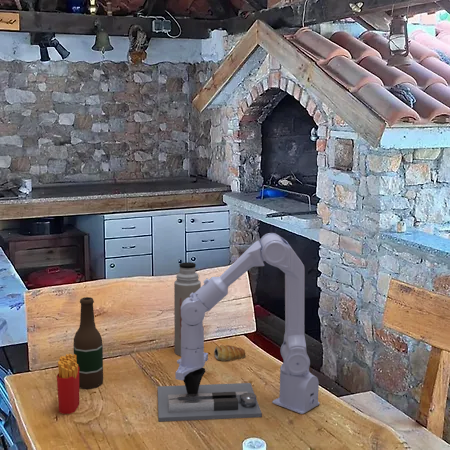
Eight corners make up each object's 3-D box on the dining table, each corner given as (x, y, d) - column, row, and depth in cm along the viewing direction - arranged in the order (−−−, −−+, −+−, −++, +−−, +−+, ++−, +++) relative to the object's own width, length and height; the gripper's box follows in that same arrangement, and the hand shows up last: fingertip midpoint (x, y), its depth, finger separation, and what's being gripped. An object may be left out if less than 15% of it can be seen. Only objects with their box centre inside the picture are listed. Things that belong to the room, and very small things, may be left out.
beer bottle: (109, 383, 177) (107, 298, 173) (85, 392, 171) (83, 304, 167) (92, 375, 182) (90, 292, 178) (68, 383, 177) (65, 298, 172)
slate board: (250, 386, 176) (250, 382, 176) (261, 417, 159) (261, 413, 158) (157, 389, 173) (157, 386, 173) (158, 421, 156) (158, 417, 156)
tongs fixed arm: (236, 405, 162) (236, 396, 162) (238, 410, 160) (238, 401, 160) (168, 408, 160) (168, 399, 160) (168, 413, 158) (168, 403, 158)
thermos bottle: (197, 357, 196) (197, 267, 191) (171, 355, 198) (171, 266, 193) (202, 348, 204) (203, 261, 199) (177, 346, 205) (177, 260, 200)
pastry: (242, 352, 202) (242, 340, 201) (248, 360, 195) (248, 348, 195) (212, 355, 199) (212, 343, 199) (217, 363, 193) (218, 351, 192)
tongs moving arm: (254, 398, 166) (254, 390, 165) (257, 406, 161) (257, 398, 161) (168, 402, 163) (168, 394, 163) (168, 410, 159) (168, 402, 158)
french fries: (72, 415, 158) (71, 365, 156) (55, 415, 158) (53, 364, 156) (82, 399, 167) (81, 351, 165) (66, 398, 167) (64, 350, 165)
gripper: (191, 334, 171) (190, 383, 173) (164, 352, 158) (164, 405, 160) (215, 338, 168) (215, 387, 170) (190, 357, 155) (190, 410, 157)
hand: (192, 396), depth 165 cm, fingers closed
